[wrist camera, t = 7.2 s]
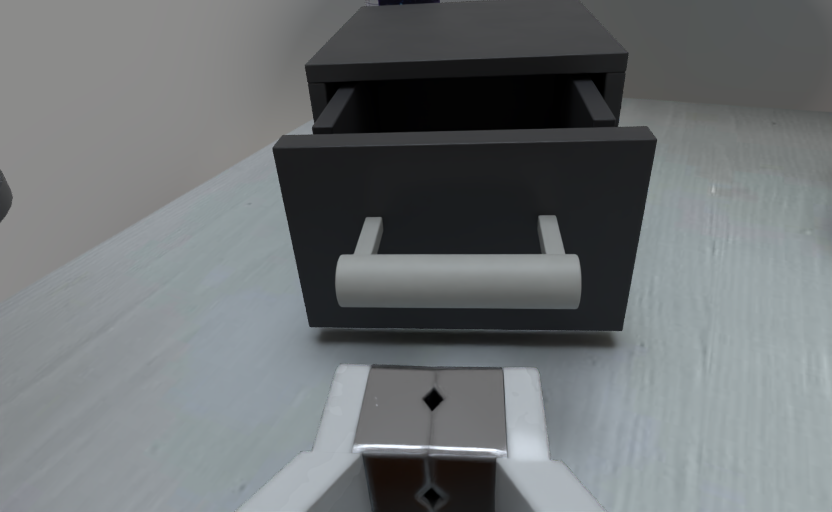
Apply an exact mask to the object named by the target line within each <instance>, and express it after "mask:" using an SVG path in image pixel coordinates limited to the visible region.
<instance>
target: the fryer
mask: <svg viewBox="0 0 832 512" xmlns="http://www.w3.org/2000/svg"><path fill="white" fill-rule="evenodd" d="M627 60H628V52H627V51H626V50H625V49H624V48H623V46H622V45H621V44H620V43H619V42H618V41H617V40H616V39H615V38H614V37H613V36H612V35H611V34H610V33H609V32H608V30H606V28H605V27H604V26H603V25H602V24H601V23H600V22H599V21H598V20H597V19H596V18H595V17H594V16H593V15H592V14H591V12H590V11H589V10H588V9H587V8H586V7H585V6H584V5H583V4H582V3H581V2H580V1H579V0H489V1H488V0H487V1H466V2H445V3H425V4H405V5H384V6H364V7H361V8H360V9H359V10H358V11H357V12H356V13H355V14H354V15H353V16H352V17H351V18H350V19H349V20H348V21H347V22H346V23H345V24H344V25H343V26H342V28H340V29H339V31H338V32H337V33H336V34H335V35H334V36H333V37H332V38H331V39H330V40H329V41H328V42H327V43H326V44H325V45H324V46H323V47H322V48H321V49H320V50H319V51H318V52H317V53H316V54H315V55H314V56H313V57H312V58H311V59H310V60H309V62H308V63H306V65H305V70H306V76H307V82H308V87H309V94H310V100H311V106H312V112H313V118H314V124H315V122H316V121H317V119H318V118H319V116H320V115H321V113H322V112H323V110H324V109H325V108H326V106H327V105H328V103H329V102H330V100H331V99H332V97H333V96H334V94H335V93H336V92H337V90H338V89H339V87H340V86H341V84H342V83H343V82H350V81H379V80H408V79H436V78H465V77H494V76H522V75H551V74H580V73H588V75H589V76H590V78H591V79H592V81H593V83H594V84H595V86H596V88H597V89H598V91H599V92H600V94H601V96H602V97H603V99H604V101H605V102H606V104H607V106H608V107H609V109H610V110H611V112H612V114H613V115H614V117H615V119H616V123H615V127H618V123H619V116H620V109H621V102H622V94H623V88H624V81H625V71H626V68H627Z"/></svg>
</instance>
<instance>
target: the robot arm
mask: <svg viewBox="0 0 832 512" xmlns="http://www.w3.org/2000/svg"><path fill="white" fill-rule="evenodd" d="M234 512H607V511H606V510H605V509H604V507H603V506H602V505H601V504H600V503H599V502H598V501H597V499H596V498H595V497H594V496H593V495H592V494H591V493H590V492H589V490H588V489H587V488H586V487H585V486H584V485H583V484H582V483H581V481H580V480H579V479H578V478H577V477H576V476H575V475H574V474H573V472H572V471H571V470H570V469H569V468H568V467H567V466H566V464H565V463H564V462H563V461H558V460H551V455H550V448H549V440H548V433H547V425H546V418H545V411H544V403H543V396H542V388H541V381H540V373H539V371H538V369H537V368H536V367H503V369H502V367H423V366H400V365H377V364H373V365H360V364H340V365H339V366H338V368H337V369H336V371H335V373H334V376H333V380H332V383H331V387H330V390H329V393H328V397H327V400H326V403H325V407H324V410H323V414H322V417H321V420H320V424H319V427H318V430H317V434H316V437H315V441H314V444H313V447H312V451H301V452H300V453H299V454H298V455H296V456H295V457H294V458H293V459H292V460H291V461H290V462H289V463H288V464H286V465H285V466H284V467H283V468H282V469H281V470H280V471H279V472H278V473H277V474H275V475H274V476H273V477H272V478H271V479H270V480H269V481H268V482H267V483H265V484H264V485H263V486H262V487H261V488H260V489H259V490H258V491H257V492H256V493H254V494H253V495H252V496H251V497H250V498H249V499H248V500H247V501H246V502H244V503H243V504H242V505H241V506H240V507H239V508H238V509H237V510H236V511H234Z"/></svg>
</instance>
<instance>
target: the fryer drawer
mask: <svg viewBox="0 0 832 512" xmlns="http://www.w3.org/2000/svg"><path fill="white" fill-rule="evenodd" d="M615 123H616V119H615V117H614V115H613V114H612V112H611V110H610V109H609V107H608V106H607V104H606V102H605V101H604V99H603V97H602V96H601V94H600V92H599V91H598V89H597V88H596V86H595V84H594V83H593V81H592V79H591V78H590V76H589V75H588V73H580V74H551V75H522V76H494V77H465V78H436V79H408V80H379V81H350V82H343V83H342V84H341V86H340V87H339V89H338V90H337V92H336V93H335V94H334V96H333V97H332V99H331V100H330V102H329V103H328V105H327V106H326V108H325V109H324V110H323V112H322V113H321V115H320V116H319V118H318V119H317V121H316V122H315V124H314V125H313V126H312V131H313V135H283V136H281V138H280V139H279V140H278V141H277V143H276V144H275V145H274V147H273V148H272V149H273V154H274V159H275V164H276V168H277V173H278V178H279V183H280V188H281V192H282V197H283V202H284V207H285V212H286V216H287V221H288V226H289V231H290V235H291V240H292V245H293V250H294V255H295V259H296V264H297V269H298V274H299V279H300V283H301V288H302V293H303V298H304V302H305V307H306V312H307V317H308V322H309V326H310V327H339V328H420V329H501V330H582V331H622V329H623V324H624V318H625V313H626V307H627V302H628V296H629V291H630V285H631V280H632V274H633V269H634V264H635V258H636V253H637V247H638V242H639V236H640V231H641V225H642V220H643V214H644V209H645V203H646V198H647V192H648V187H649V181H650V176H651V170H652V165H653V159H654V154H655V148H656V143H657V139H656V137H655V136H654V135H653V133H652V132H651V131H650V129H649V128H648V127H647V126H637V127H615Z"/></svg>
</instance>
